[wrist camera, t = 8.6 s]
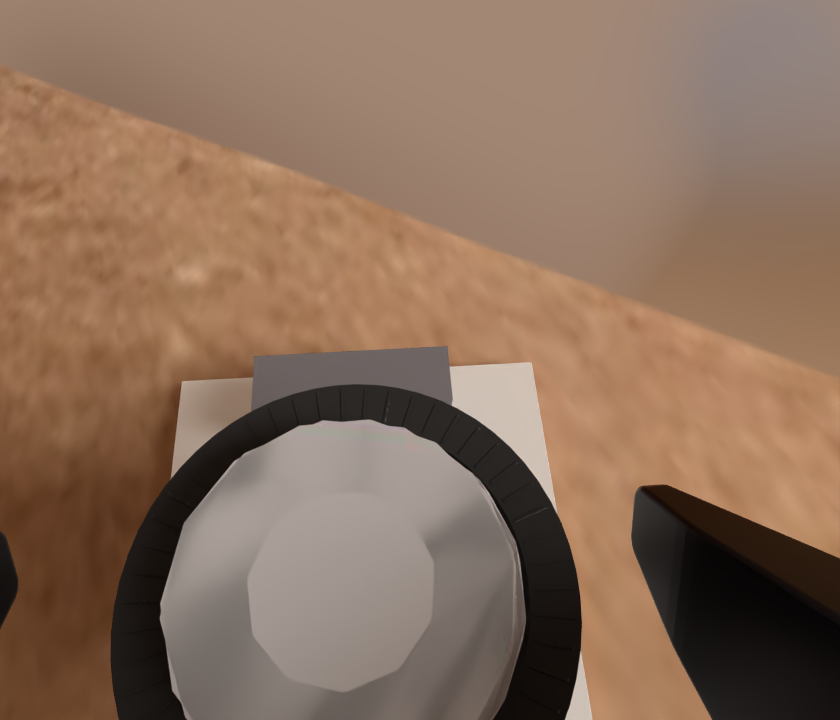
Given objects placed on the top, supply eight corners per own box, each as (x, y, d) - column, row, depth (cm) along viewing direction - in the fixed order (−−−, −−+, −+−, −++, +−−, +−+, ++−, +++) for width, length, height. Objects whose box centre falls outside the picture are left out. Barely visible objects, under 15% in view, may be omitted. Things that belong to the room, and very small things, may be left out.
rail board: (635, 1042, 13) (731, 1199, 9) (116, 1101, 13) (-11, 1292, 9) (525, 375, 20) (553, 308, 16) (192, 394, 20) (140, 328, 16)
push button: (427, 871, 13) (475, 1332, 4) (204, 771, 14) (-178, 972, 5) (512, 565, 16) (651, 435, 7) (324, 495, 17) (229, 296, 8)
